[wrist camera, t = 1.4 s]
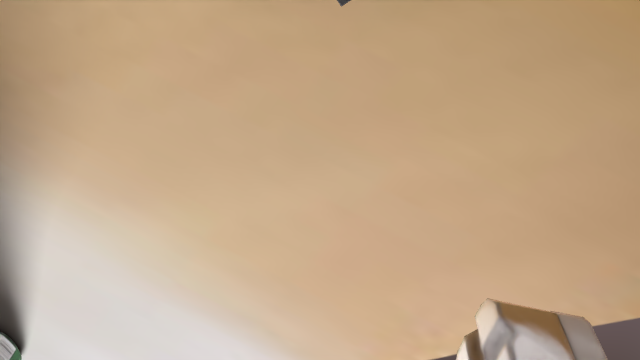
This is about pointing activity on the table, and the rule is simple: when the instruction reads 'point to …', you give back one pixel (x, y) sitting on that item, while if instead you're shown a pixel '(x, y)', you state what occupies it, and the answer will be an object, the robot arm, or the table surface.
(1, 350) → the coffee jar
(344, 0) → the divided storage box
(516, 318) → the robot arm
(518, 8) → the table surface
